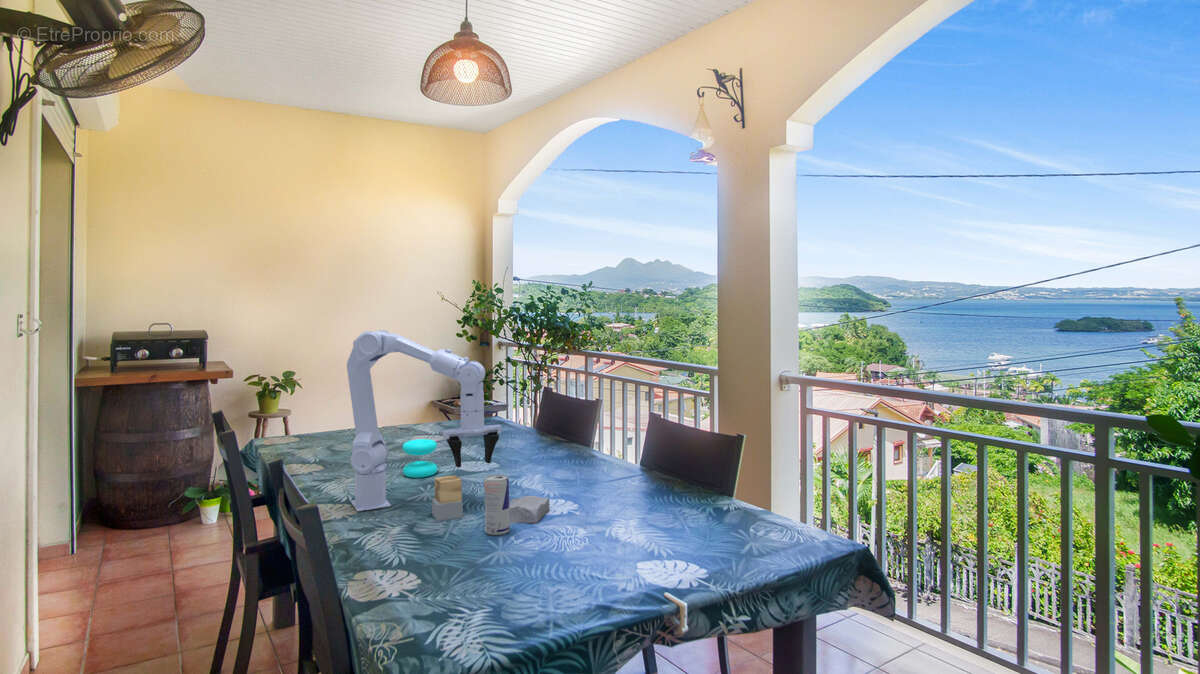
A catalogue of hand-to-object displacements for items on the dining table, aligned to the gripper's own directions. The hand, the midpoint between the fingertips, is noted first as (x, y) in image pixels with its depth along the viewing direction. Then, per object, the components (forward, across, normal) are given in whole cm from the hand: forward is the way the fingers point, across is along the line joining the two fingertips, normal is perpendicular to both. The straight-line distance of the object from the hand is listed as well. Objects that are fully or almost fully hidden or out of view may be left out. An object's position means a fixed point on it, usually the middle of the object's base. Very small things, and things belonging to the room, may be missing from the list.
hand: (473, 464), depth 159 cm
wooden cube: (+7, -8, -4) cm, 11 cm away
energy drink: (+11, -2, -21) cm, 24 cm away
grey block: (+11, -8, -4) cm, 14 cm away
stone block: (+11, +8, -14) cm, 19 cm away
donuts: (+11, -3, +39) cm, 41 cm away
